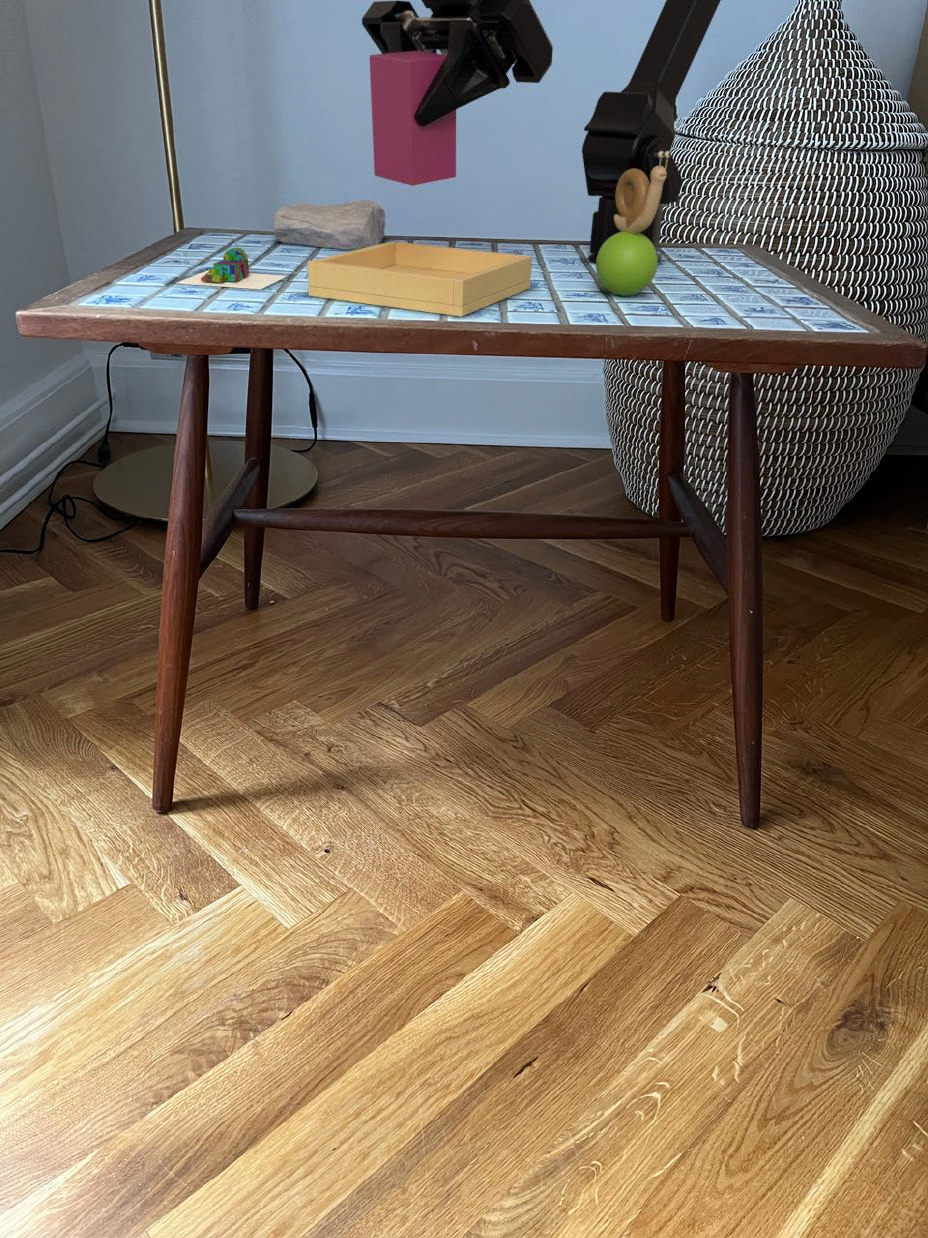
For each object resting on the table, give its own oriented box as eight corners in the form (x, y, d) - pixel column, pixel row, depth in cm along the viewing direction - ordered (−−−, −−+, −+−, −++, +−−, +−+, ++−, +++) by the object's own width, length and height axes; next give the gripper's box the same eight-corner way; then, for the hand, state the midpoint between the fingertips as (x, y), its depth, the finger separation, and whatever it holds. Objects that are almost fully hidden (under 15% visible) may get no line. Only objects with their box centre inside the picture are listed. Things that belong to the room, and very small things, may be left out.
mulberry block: (418, 167, 85) (415, 50, 79) (456, 176, 82) (456, 55, 76) (374, 175, 82) (369, 54, 76) (412, 185, 79) (409, 60, 74)
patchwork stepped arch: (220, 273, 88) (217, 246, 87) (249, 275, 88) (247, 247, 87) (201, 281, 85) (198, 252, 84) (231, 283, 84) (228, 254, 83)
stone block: (374, 267, 104) (389, 235, 112) (370, 222, 101) (386, 192, 109) (269, 265, 105) (290, 234, 113) (262, 221, 102) (284, 191, 110)
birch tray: (530, 288, 88) (532, 256, 86) (461, 316, 76) (462, 280, 75) (392, 271, 93) (391, 240, 92) (308, 295, 81) (306, 261, 80)
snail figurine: (622, 305, 82) (639, 150, 76) (581, 291, 87) (594, 145, 81) (672, 301, 85) (692, 151, 79) (629, 287, 90) (645, 145, 84)
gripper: (378, -114, 79) (271, 35, 78) (537, -142, 67) (414, 34, 66) (448, 5, 87) (353, 141, 86) (600, 0, 75) (492, 157, 74)
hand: (397, 120), depth 78 cm, fingers closed on mulberry block, 5 cm apart
